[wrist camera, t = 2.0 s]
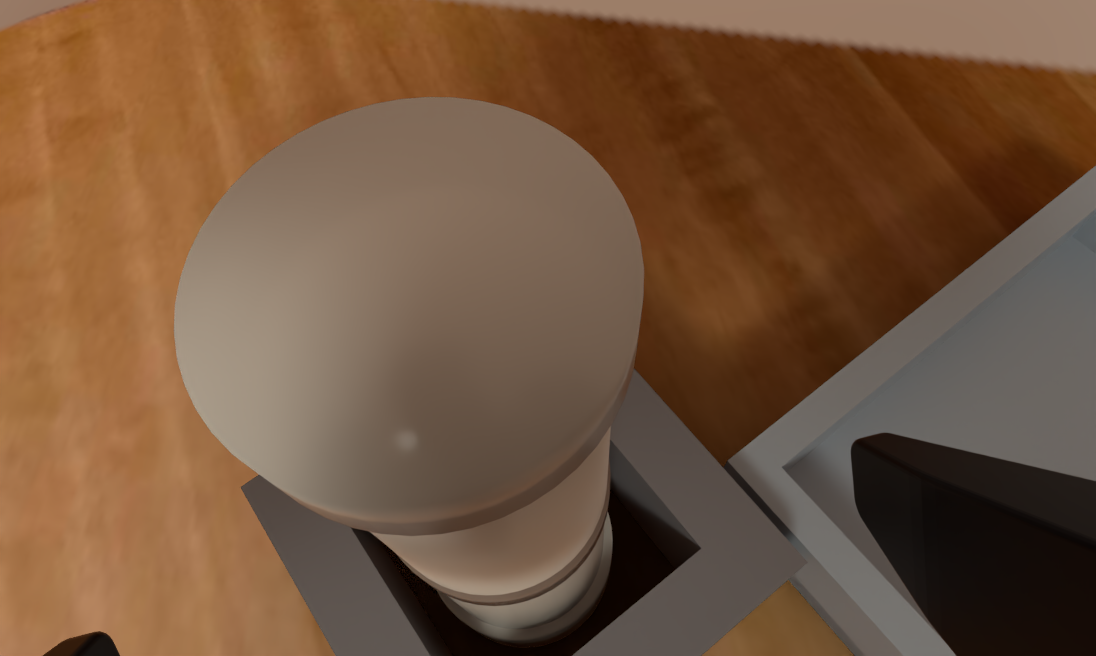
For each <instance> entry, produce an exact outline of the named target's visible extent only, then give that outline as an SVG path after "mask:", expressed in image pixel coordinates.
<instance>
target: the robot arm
mask: <svg viewBox="0 0 1096 656" xmlns="http://www.w3.org/2000/svg"><path fill="white" fill-rule="evenodd" d="M851 464H852V476H853V488H854V499H855V504H856V507H857V510H858V513H859V515H860V517H861V519H862V520H863V522H864V524H865V525H866V527H867V528H868V530H869V531H870V533H871V534H872V536H873V537H874V539H875V540H876V542H877V544H878V545H879V547H880V548H881V550H882V551H883V553H884V554H885V556H886V557H887V559H888V561H889V562H890V564H891V565H892V567H893V568H894V570H895V571H896V573H897V574H898V576H899V577H900V579H901V581H902V582H903V584H904V585H905V587H906V588H907V590H908V591H909V593H910V594H911V596H912V597H913V599H914V601H915V602H916V604H917V605H918V607H919V608H920V609H921V611H922V612H923V614H924V615H925V617H926V618H927V620H928V621H929V622H930V624H931V625H932V626H933V627H934V629H935V630H936V631H937V633H938V634H939V635H940V636H941V638H942V639H943V640H944V641H945V643H946V644H947V645H948V646H949V648H950V649H951V650H952V651H953V652H954V654H955V655H956V656H1096V481H1094V480H1090V479H1085V478H1081V477H1077V476H1073V475H1068V474H1064V473H1060V472H1055V471H1051V470H1047V469H1042V468H1038V467H1034V466H1029V465H1025V464H1021V463H1017V462H1012V461H1008V460H1004V459H999V458H995V457H991V456H986V455H982V454H978V453H974V452H969V451H965V450H961V449H956V448H952V447H948V446H943V445H939V444H935V443H930V442H926V441H922V440H918V439H913V438H909V437H905V436H900V435H896V434H892V433H886V432H885V433H878V434H874V435H870V436H867V437H863V438H859V439H857V440H855V441H854V442H853V444H852V446H851ZM43 656H120V655H119V652H118V650H117V648H116V646H115V644H114V642H113V640H112V639H111V637H110V636H109V635H107V634H106V633H103V632H100V631H99V632H93V633H89V634H85V635H81V636H77V637H73V638H69V639H67V640H64V641H63V642H61V643H59V644H58V645H57V646H55V647H54V648H52V649H51V650H50V651H48V652H47V653H46V654H44V655H43Z"/></svg>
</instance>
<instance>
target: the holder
mask: <svg viewBox="0 0 1096 656" xmlns="http://www.w3.org/2000/svg"><path fill="white" fill-rule="evenodd" d="M609 463H610V473H611V477H610V489H611V490H612V492H613V493H614V494H615V495H616V496H617V498H618V499H619V500H620V501H621V503H622V504H623V505H624V506H625V508H626V509H627V510H628V511H629V513H630V514H631V515H632V516H633V518H634V519H635V520H636V521H637V522H638V524H639V525H640V526H641V527H642V529H643V530H644V531H645V532H646V534H647V535H648V536H649V537H650V539H651V540H652V541H653V542H654V543H655V545H656V546H657V547H658V548H659V550H660V551H661V552H662V553H663V555H664V556H665V557H666V558H667V560H668V561H669V562H670V563H671V564H672V566H673V567H674V568H675V569H676V570H675V571H674V572H672V573H671V574H670V575H669V576H668V577H666V578H665V579H664V580H663V581H662V582H660V583H659V584H658V585H657V586H656V587H654V588H653V589H652V590H651V591H649V592H648V593H647V594H646V595H645V596H643V597H642V598H641V599H640V600H639V601H637V602H636V603H635V604H634V605H633V606H631V607H630V608H629V609H628V610H627V611H625V612H624V613H623V614H622V615H620V616H619V617H618V618H617V619H616V620H614V621H613V622H612V623H611V624H610V625H608V626H607V627H606V628H605V629H604V630H602V631H601V632H600V633H599V634H598V635H596V636H595V637H594V638H593V639H592V640H590V641H589V642H588V643H587V644H585V645H584V646H583V647H582V648H581V649H579V650H578V651H577V652H576V653H575V654H573V655H572V656H701V655H702V654H704V653H705V652H706V651H707V650H708V649H709V648H710V647H712V646H713V645H714V644H715V643H716V642H717V641H718V640H720V639H721V638H722V637H723V636H724V635H725V634H726V633H728V632H729V631H730V630H731V629H732V628H733V627H735V626H736V625H737V624H738V623H739V622H740V621H741V620H743V619H744V618H745V617H746V616H747V615H748V614H749V613H751V612H752V611H753V610H754V609H755V608H756V607H757V606H759V605H760V604H761V603H762V602H763V601H764V600H765V599H767V598H768V597H769V596H770V595H771V594H772V593H773V592H775V591H776V590H777V589H778V588H779V587H780V586H781V585H783V584H784V583H785V582H786V581H787V580H788V579H790V578H791V577H792V576H793V575H794V574H795V573H796V572H798V571H799V570H800V569H801V568H802V567H803V566H804V565H806V564H807V563H808V562H807V561H806V560H805V559H804V557H803V556H802V555H801V554H800V553H799V552H798V551H797V550H796V548H795V547H794V546H793V545H792V544H791V543H790V542H789V541H788V540H787V538H786V537H785V536H784V535H783V534H782V533H781V532H780V531H779V530H778V528H777V527H776V526H775V525H774V524H773V523H772V522H771V521H770V519H769V518H768V517H767V516H766V515H765V514H764V513H763V512H762V511H761V509H760V508H759V507H758V506H757V505H756V504H755V503H754V502H753V500H752V499H751V498H750V497H749V496H748V495H747V494H746V493H745V492H744V490H743V489H742V488H741V487H740V486H739V485H738V484H737V483H736V482H735V480H734V479H733V478H732V477H731V476H730V475H729V474H728V473H727V471H726V470H725V469H724V468H723V467H722V466H721V465H720V464H719V463H718V461H717V460H716V459H715V458H714V457H713V456H712V455H711V454H710V452H709V451H708V450H707V449H706V448H705V447H704V446H703V445H702V444H701V442H700V441H699V440H698V439H697V438H696V437H695V436H694V435H693V434H692V432H691V431H690V430H689V429H688V428H687V427H686V426H685V425H684V423H683V422H682V421H681V420H680V419H679V418H678V417H677V416H676V415H675V413H674V412H673V411H672V410H671V409H670V408H669V407H668V406H667V404H666V403H665V402H664V401H663V400H662V399H661V398H660V397H659V396H658V394H657V393H656V392H655V391H654V390H653V389H652V388H651V387H650V386H649V384H648V383H647V382H646V381H645V380H644V379H643V378H642V377H641V375H640V374H639V373H638V372H637V371H636V370H635V369H633V374H632V377H631V381H630V384H629V387H628V390H627V393H626V396H625V399H624V401H623V403H622V405H621V407H620V409H619V411H618V413H617V415H616V417H615V419H614V421H613V423H612V425H611V431H610V446H609ZM241 489H242V491H243V492H244V494H245V496H246V498H247V500H248V501H249V503H250V505H251V507H252V508H253V510H254V512H255V514H256V515H257V517H258V519H259V521H260V523H261V524H262V526H263V528H264V530H265V531H266V533H267V535H268V537H269V538H270V540H271V542H272V544H273V546H274V547H275V549H276V551H277V553H278V554H279V556H280V558H281V560H282V561H283V563H284V565H285V567H286V569H287V570H288V572H289V574H290V576H291V577H292V579H293V581H294V583H295V584H296V586H297V588H298V590H299V592H300V593H301V595H302V597H303V599H304V600H305V602H306V604H307V606H308V607H309V609H310V611H311V613H312V615H313V616H314V618H315V620H316V622H317V623H318V625H319V627H320V629H321V630H322V632H323V634H324V636H325V638H326V639H327V641H328V643H329V645H330V646H331V648H332V650H333V652H334V653H335V655H336V656H453V655H452V653H451V652H450V650H449V649H448V647H447V646H446V644H445V642H444V641H443V639H442V638H441V636H440V635H439V633H438V631H437V630H436V628H435V627H434V625H433V624H432V622H431V620H430V619H429V617H428V616H427V614H426V613H425V611H424V609H423V608H422V606H421V605H420V603H419V601H418V600H417V598H416V597H415V595H414V594H413V592H412V590H411V589H410V587H409V586H408V584H407V583H406V581H405V579H404V578H403V576H402V575H401V573H400V572H399V570H398V568H397V567H396V565H395V564H394V562H393V561H392V559H391V557H390V556H389V554H388V553H387V551H386V550H385V548H384V546H383V545H382V543H381V542H380V540H379V539H378V538H377V537H376V536H374V535H373V534H372V533H371V532H369V531H365V530H360V529H355V528H351V527H349V526H346V525H343V524H340V523H338V522H335V521H332V520H329V519H327V518H325V517H323V516H321V515H319V514H317V513H315V512H313V511H312V510H310V509H308V508H306V507H304V506H302V505H301V504H299V503H298V502H297V501H295V500H294V499H292V498H291V497H290V496H288V495H287V494H286V493H284V492H283V491H281V490H280V489H279V488H277V487H276V486H274V485H273V484H272V483H270V482H269V481H268V480H266V479H265V478H263V477H262V476H261V475H258V476H256V477H255V478H253V479H252V480H250V481H249V482H247V483H246V484H244V485H243V486H242V487H241Z"/></svg>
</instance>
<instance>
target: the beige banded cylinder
mask: <svg viewBox="0 0 1096 656" xmlns="http://www.w3.org/2000/svg"><path fill="white" fill-rule="evenodd" d="M643 295H644V265H643V257H642V250H641V243H640V239H639V236H638V232H637V229H636V226H635V222H634V219H633V217H632V214H631V212H630V210H629V208H628V206H627V204H626V202H625V199H624V197H623V195H622V194H621V192H620V191H619V189H618V188H617V186H616V185H615V183H614V182H613V180H612V179H611V177H610V176H609V174H608V173H607V172H606V171H605V170H604V169H603V168H602V166H601V165H600V164H599V163H598V162H597V161H596V160H595V159H594V157H593V156H592V155H590V154H589V153H588V152H587V151H586V150H585V149H583V148H582V147H581V146H580V145H579V144H578V143H576V142H575V141H574V140H573V139H571V138H570V137H568V136H567V135H565V134H564V133H562V132H561V131H559V130H557V129H556V128H554V127H553V126H551V125H549V124H547V123H545V122H543V121H541V120H539V119H537V118H535V117H533V116H531V115H528V114H525V113H522V112H520V111H517V110H514V109H511V108H508V107H505V106H501V105H497V104H492V103H488V102H484V101H478V100H470V99H462V98H453V97H422V98H409V99H399V100H393V101H388V102H382V103H377V104H372V105H369V106H365V107H361V108H358V109H354V110H351V111H347V112H345V113H342V114H340V115H337V116H334V117H332V118H329V119H327V120H324V121H322V122H320V123H318V124H316V125H314V126H312V127H310V128H308V129H306V130H304V131H302V132H300V133H298V134H296V135H295V136H293V137H292V138H290V139H288V140H287V141H285V142H284V143H282V144H280V145H279V146H277V147H276V148H274V149H273V150H272V151H270V152H269V153H268V154H267V155H265V156H264V157H263V158H261V159H260V160H259V161H258V162H256V163H255V164H254V165H253V166H252V167H251V168H249V169H248V170H247V171H246V172H245V173H244V174H243V175H242V176H241V177H240V178H239V179H238V180H237V181H236V182H235V183H234V184H233V185H232V186H231V187H230V189H229V190H228V191H227V192H226V193H225V195H224V196H223V197H222V198H221V199H220V201H219V202H218V203H217V204H216V206H215V207H214V209H213V210H212V212H211V213H210V215H209V216H208V218H207V219H206V221H205V222H204V224H203V225H202V227H201V229H200V231H199V233H198V235H197V237H196V239H195V241H194V243H193V245H192V247H191V249H190V251H189V254H188V256H187V259H186V262H185V265H184V268H183V271H182V274H181V277H180V282H179V287H178V292H177V297H176V302H175V319H174V336H175V345H176V354H177V360H178V364H179V367H180V371H181V374H182V378H183V382H184V385H185V387H186V389H187V391H188V393H189V396H190V398H191V400H192V402H193V404H194V406H195V409H196V410H197V412H198V413H199V415H200V416H201V418H202V419H203V421H204V422H205V424H206V425H207V426H208V428H209V429H210V431H211V432H212V433H213V435H214V436H215V437H216V438H217V439H218V440H219V441H220V442H221V443H222V444H223V445H224V446H225V447H226V448H227V449H228V450H229V451H230V452H231V453H232V454H233V455H234V456H235V457H237V458H238V459H239V460H241V461H242V462H243V463H245V464H246V465H247V466H249V467H250V468H251V469H253V470H254V471H255V472H256V473H258V474H259V475H261V476H262V477H263V478H265V479H266V480H268V481H269V482H270V483H272V484H273V485H274V486H276V487H277V488H279V489H280V490H281V491H283V492H284V493H286V494H287V495H288V496H290V497H291V498H292V499H294V500H295V501H297V502H298V503H299V504H301V505H302V506H304V507H306V508H308V509H310V510H312V511H313V512H315V513H317V514H319V515H321V516H323V517H325V518H327V519H329V520H332V521H335V522H338V523H340V524H343V525H346V526H349V527H351V528H355V529H360V530H365V531H369V532H371V533H372V534H373V535H374V536H376V537H377V538H378V539H379V540H380V541H382V542H383V543H384V544H385V545H386V546H388V547H389V548H390V549H391V550H393V551H394V552H395V553H396V554H397V555H398V557H399V558H400V559H401V561H402V562H403V563H404V564H405V565H406V566H407V567H408V568H409V569H410V570H411V571H412V572H414V573H415V574H416V575H417V576H419V577H420V578H421V579H422V580H424V581H425V582H426V583H428V584H429V585H430V586H432V587H433V588H434V589H436V590H437V592H438V594H439V595H440V597H441V599H442V600H443V602H444V603H445V604H446V606H447V607H448V608H449V609H450V610H451V611H452V612H453V613H454V614H455V615H456V616H457V617H458V618H459V619H460V620H461V621H463V622H464V623H465V624H467V625H468V626H469V627H471V628H472V629H474V630H475V631H476V632H478V633H479V634H480V635H482V636H484V637H486V638H488V639H489V640H491V641H494V642H497V643H499V644H502V645H507V646H511V647H521V648H528V647H538V646H543V645H548V644H550V643H553V642H556V641H558V640H560V639H562V638H564V637H566V636H568V635H570V634H571V633H572V632H574V631H575V630H577V629H578V628H579V627H580V626H581V625H582V624H583V623H584V622H585V621H587V619H588V618H589V617H590V616H591V614H592V613H593V612H594V611H595V609H596V607H597V606H598V604H599V602H600V601H601V598H602V596H603V594H604V592H605V589H606V586H607V582H608V579H609V573H610V566H611V558H612V545H613V537H612V527H611V522H610V518H609V514H608V505H609V496H610V477H611V473H610V463H609V446H610V431H611V425H612V423H613V421H614V419H615V417H616V415H617V413H618V411H619V409H620V407H621V405H622V403H623V401H624V399H625V396H626V393H627V390H628V387H629V384H630V381H631V377H632V374H633V369H634V364H635V358H636V352H637V345H638V337H639V329H640V321H641V313H642V304H643Z"/></svg>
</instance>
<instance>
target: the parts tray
mask: <svg viewBox="0 0 1096 656" xmlns="http://www.w3.org/2000/svg"><path fill="white" fill-rule="evenodd" d="M885 432H886V433H892V434H896V435H900V436H905V437H909V438H913V439H918V440H922V441H926V442H930V443H935V444H939V445H943V446H948V447H952V448H956V449H961V450H965V451H969V452H974V453H978V454H982V455H986V456H991V457H995V458H999V459H1004V460H1008V461H1012V462H1017V463H1021V464H1025V465H1029V466H1034V467H1038V468H1042V469H1047V470H1051V471H1055V472H1060V473H1064V474H1068V475H1073V476H1077V477H1081V478H1085V479H1090V480H1094V481H1096V166H1095V167H1094V168H1092V169H1091V170H1090V171H1089V172H1087V173H1086V174H1085V175H1084V176H1082V177H1081V178H1080V179H1079V180H1077V181H1076V182H1075V183H1074V184H1072V185H1071V186H1070V187H1069V188H1067V189H1066V190H1065V191H1064V192H1062V193H1061V194H1060V195H1059V196H1057V197H1056V198H1055V199H1054V200H1052V201H1051V202H1050V203H1049V204H1047V205H1046V206H1045V207H1044V208H1042V209H1041V210H1040V211H1039V212H1037V213H1036V214H1035V215H1034V216H1032V217H1031V218H1030V219H1029V220H1027V221H1026V222H1025V223H1024V224H1022V225H1021V226H1020V227H1019V228H1017V229H1016V230H1015V231H1014V232H1012V233H1011V234H1010V235H1009V236H1007V237H1006V238H1005V239H1004V240H1002V241H1001V242H1000V243H999V244H997V245H996V246H995V247H994V248H992V249H991V250H990V251H989V252H987V253H986V254H985V255H984V256H982V257H981V258H980V259H979V260H977V261H976V262H975V263H974V264H972V265H971V266H970V267H969V268H967V269H966V270H965V271H964V272H962V273H961V274H960V275H959V276H957V277H956V278H955V279H954V280H952V281H951V282H950V283H949V284H947V285H946V286H945V287H944V288H942V289H941V290H940V291H939V292H937V293H936V294H935V295H934V296H932V297H931V298H930V299H929V300H927V301H926V302H925V303H924V304H922V305H921V306H920V307H919V308H917V309H916V310H915V311H914V312H912V313H911V314H910V315H909V316H907V317H906V318H905V319H904V320H902V321H901V322H900V323H899V324H898V325H896V326H895V327H894V328H893V329H891V330H890V331H889V332H888V333H886V334H885V335H884V336H883V337H881V338H880V339H879V340H878V341H876V342H875V343H874V344H873V345H871V346H870V347H869V348H868V349H866V350H865V351H864V352H863V353H861V354H860V355H859V356H858V357H856V358H855V359H854V360H853V361H851V362H850V363H849V364H848V365H846V366H845V367H844V368H843V369H841V370H840V371H839V372H838V373H836V374H835V375H834V376H833V377H831V378H830V379H829V380H828V381H826V382H825V383H824V384H823V385H821V386H820V387H819V388H818V389H816V390H815V391H814V392H813V393H811V394H810V395H809V396H808V397H806V398H805V399H804V400H803V401H801V402H800V403H799V404H798V405H796V406H795V407H794V408H793V409H791V410H790V411H789V412H788V413H786V414H785V415H784V416H783V417H781V418H780V419H779V420H778V421H776V422H775V423H774V424H773V425H771V426H770V427H769V428H768V429H766V430H765V431H764V432H763V433H761V434H760V435H759V436H758V437H756V438H755V439H754V440H753V441H751V442H750V443H749V444H748V445H746V446H745V447H744V448H743V449H741V450H740V451H739V452H738V453H736V454H735V455H734V456H733V457H731V458H730V459H729V460H728V461H727V462H726V464H725V466H724V469H725V470H726V471H727V473H728V474H729V475H730V476H731V477H732V478H733V479H734V480H735V482H736V483H737V484H738V485H739V486H740V487H741V488H742V489H743V490H744V492H745V493H746V494H747V495H748V496H749V497H750V498H751V499H752V500H753V502H754V503H755V504H756V505H757V506H758V507H759V508H760V509H761V511H762V512H763V513H764V514H765V515H766V516H767V517H768V518H769V519H770V521H771V522H772V523H773V524H774V525H775V526H776V527H777V528H778V530H779V531H780V532H781V533H782V534H783V535H784V536H785V537H786V538H787V540H788V541H789V542H790V543H791V544H792V545H793V546H794V547H795V548H796V550H797V551H798V552H799V553H800V554H801V555H802V556H803V557H804V559H805V560H806V561H807V562H808V563H807V564H806V565H804V566H803V567H802V568H801V569H800V570H799V571H798V572H796V573H795V574H794V575H793V576H792V577H791V578H790V579H788V580H789V581H790V582H791V583H792V584H793V586H794V587H795V588H796V589H797V590H798V591H799V592H800V594H801V595H802V596H803V597H804V598H805V599H806V600H807V602H808V603H809V604H810V605H811V606H812V607H813V608H814V610H815V611H816V612H817V613H818V614H819V615H820V616H821V618H822V619H823V620H824V621H825V622H826V623H827V624H828V626H829V627H830V628H831V629H832V630H833V631H834V632H835V634H836V635H837V636H838V637H839V638H840V639H841V640H842V642H843V643H844V644H845V645H846V646H847V647H848V648H849V650H850V651H851V652H852V653H853V654H854V655H855V656H956V655H955V654H954V652H953V651H952V650H951V649H950V648H949V646H948V645H947V644H946V643H945V641H944V640H943V639H942V638H941V636H940V635H939V634H938V633H937V631H936V630H935V629H934V627H933V626H932V625H931V624H930V622H929V621H928V620H927V618H926V617H925V615H924V614H923V612H922V611H921V609H920V608H919V607H918V605H917V604H916V602H915V601H914V599H913V597H912V596H911V594H910V593H909V591H908V590H907V588H906V587H905V585H904V584H903V582H902V581H901V579H900V577H899V576H898V574H897V573H896V571H895V570H894V568H893V567H892V565H891V564H890V562H889V561H888V559H887V557H886V556H885V554H884V553H883V551H882V550H881V548H880V547H879V545H878V544H877V542H876V540H875V539H874V537H873V536H872V534H871V533H870V531H869V530H868V528H867V527H866V525H865V524H864V522H863V520H862V519H861V517H860V515H859V513H858V510H857V507H856V504H855V499H854V488H853V476H852V464H851V446H852V444H853V442H854V441H855V440H857V439H859V438H863V437H867V436H870V435H874V434H878V433H885Z"/></svg>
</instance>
